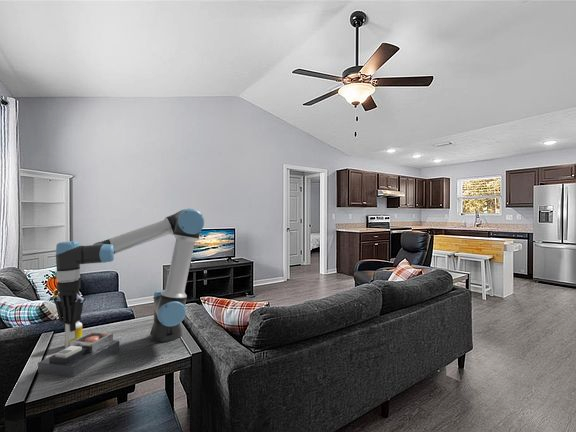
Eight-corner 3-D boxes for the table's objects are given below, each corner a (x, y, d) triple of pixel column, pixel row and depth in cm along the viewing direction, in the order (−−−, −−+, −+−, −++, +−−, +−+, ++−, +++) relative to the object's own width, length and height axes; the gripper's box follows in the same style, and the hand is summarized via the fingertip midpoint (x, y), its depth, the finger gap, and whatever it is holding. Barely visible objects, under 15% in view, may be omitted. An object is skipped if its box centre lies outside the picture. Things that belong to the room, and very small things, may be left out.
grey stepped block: (119, 349, 131) (119, 332, 131) (73, 377, 109) (73, 357, 109) (89, 346, 134) (89, 330, 134) (38, 372, 112) (38, 353, 112)
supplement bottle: (85, 343, 137) (85, 316, 137) (71, 350, 131) (71, 321, 131) (75, 342, 140) (75, 315, 140) (61, 347, 133) (61, 319, 133)
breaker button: (101, 343, 129) (101, 336, 129) (92, 348, 124) (92, 341, 124) (92, 342, 129) (92, 335, 129) (82, 347, 125) (82, 340, 125)
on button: (81, 354, 119) (81, 346, 119) (65, 362, 112) (65, 354, 112) (71, 353, 120) (71, 345, 120) (55, 361, 113) (55, 353, 113)
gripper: (90, 278, 118) (92, 336, 119) (63, 277, 121) (65, 334, 121) (74, 282, 111) (75, 344, 111) (45, 282, 113) (47, 342, 114)
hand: (70, 339), depth 116 cm, fingers closed
